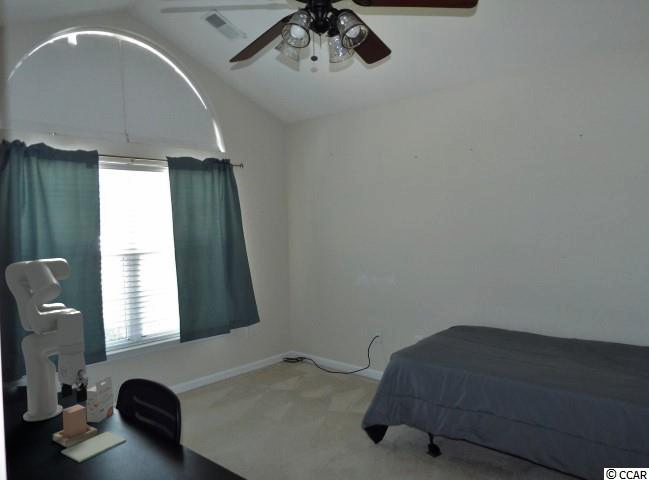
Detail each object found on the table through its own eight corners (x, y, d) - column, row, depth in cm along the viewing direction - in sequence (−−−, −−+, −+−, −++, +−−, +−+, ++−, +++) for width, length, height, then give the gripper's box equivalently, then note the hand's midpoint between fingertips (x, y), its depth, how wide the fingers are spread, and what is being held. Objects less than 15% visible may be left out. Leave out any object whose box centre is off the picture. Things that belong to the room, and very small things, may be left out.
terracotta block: (64, 438, 144) (62, 409, 144) (79, 432, 148) (77, 404, 148) (71, 442, 142) (70, 412, 141) (86, 436, 146) (85, 407, 145)
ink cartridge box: (102, 412, 165) (101, 374, 164) (114, 412, 164) (112, 374, 163) (86, 422, 156) (84, 382, 156) (98, 423, 156) (96, 383, 155)
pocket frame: (52, 440, 144) (52, 434, 144) (82, 428, 152) (82, 422, 152) (67, 447, 138) (67, 441, 138) (97, 434, 146) (97, 429, 146)
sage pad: (61, 452, 135) (61, 450, 135) (107, 432, 148) (107, 431, 148) (79, 462, 129) (79, 460, 129) (126, 441, 142) (126, 439, 142)
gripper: (47, 348, 145) (50, 398, 146) (72, 354, 136) (76, 407, 136) (70, 343, 152) (73, 391, 152) (96, 348, 142) (99, 399, 142)
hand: (74, 398), depth 144 cm, fingers open, 9 cm apart
